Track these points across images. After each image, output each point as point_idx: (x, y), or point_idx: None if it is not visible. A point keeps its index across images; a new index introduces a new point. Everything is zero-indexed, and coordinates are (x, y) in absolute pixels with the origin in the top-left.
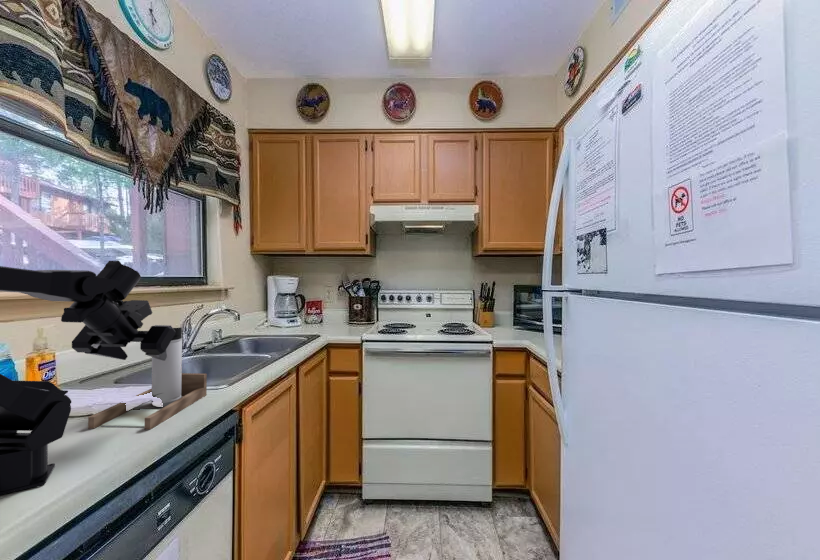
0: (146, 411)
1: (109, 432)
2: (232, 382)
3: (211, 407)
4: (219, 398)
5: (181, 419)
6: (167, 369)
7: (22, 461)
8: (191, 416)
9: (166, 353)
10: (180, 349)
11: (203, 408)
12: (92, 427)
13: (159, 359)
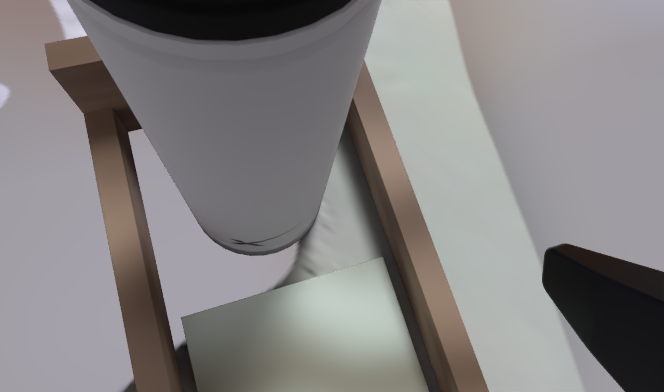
0: (278, 318)
1: None
2: None
3: (502, 171)
4: (439, 78)
5: (508, 319)
6: (327, 156)
7: None
8: (517, 278)
9: (624, 262)
10: None
11: (481, 190)
12: None
13: (600, 354)
